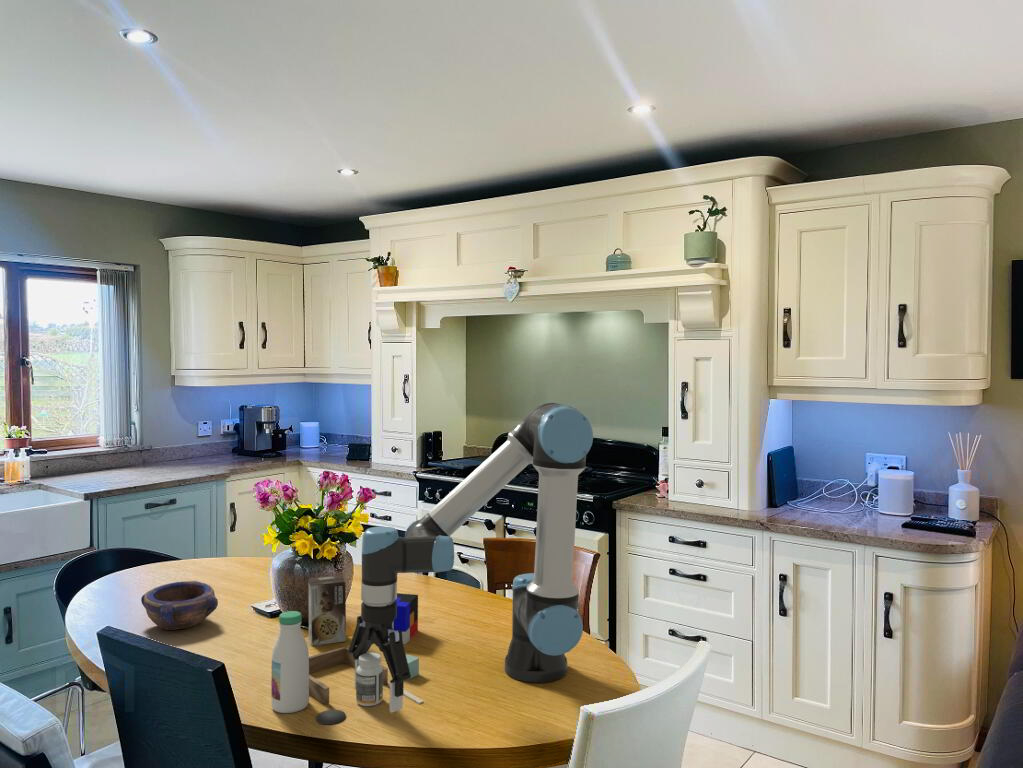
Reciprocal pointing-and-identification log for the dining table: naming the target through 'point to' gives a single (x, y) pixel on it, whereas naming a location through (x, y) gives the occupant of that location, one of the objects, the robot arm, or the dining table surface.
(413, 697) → the strip
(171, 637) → the dining table surface
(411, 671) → the teal block
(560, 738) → the dining table surface
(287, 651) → the milk bottle
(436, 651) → the dining table surface
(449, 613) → the dining table surface
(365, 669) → the pill bottle
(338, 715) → the drain disc
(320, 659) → the cubby
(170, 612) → the bowl
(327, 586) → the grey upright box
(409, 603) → the puzzle toy
